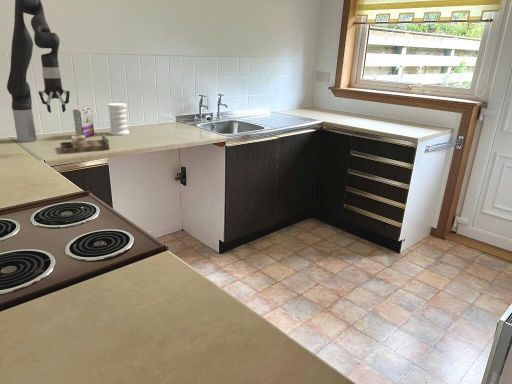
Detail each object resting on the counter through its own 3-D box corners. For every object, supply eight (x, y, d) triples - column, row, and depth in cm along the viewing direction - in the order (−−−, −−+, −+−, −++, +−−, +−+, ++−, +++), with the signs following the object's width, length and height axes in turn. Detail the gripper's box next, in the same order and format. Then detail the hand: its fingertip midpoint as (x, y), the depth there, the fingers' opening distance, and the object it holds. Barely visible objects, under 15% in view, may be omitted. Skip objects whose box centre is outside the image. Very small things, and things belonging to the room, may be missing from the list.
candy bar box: (87, 134, 236) (84, 107, 231) (94, 135, 235) (91, 107, 230) (75, 138, 226) (72, 109, 220) (83, 138, 225) (80, 110, 219)
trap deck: (63, 153, 194) (61, 142, 192) (60, 147, 205) (59, 137, 203) (109, 149, 205) (108, 139, 203) (104, 143, 216) (103, 134, 214)
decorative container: (121, 130, 249) (119, 102, 243) (133, 133, 243) (131, 104, 237) (105, 133, 240) (102, 103, 234) (117, 136, 234) (114, 106, 228)
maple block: (73, 146, 199) (72, 138, 198) (72, 143, 204) (71, 135, 203) (86, 145, 202) (85, 137, 201) (84, 142, 207) (83, 135, 205)
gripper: (35, 77, 181) (41, 114, 187) (69, 77, 188) (73, 112, 193) (34, 76, 187) (40, 111, 193) (67, 76, 194) (71, 110, 200)
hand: (56, 112), depth 193 cm, fingers open, 5 cm apart
